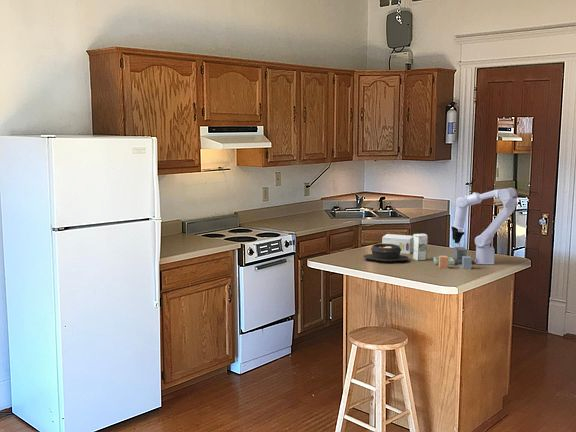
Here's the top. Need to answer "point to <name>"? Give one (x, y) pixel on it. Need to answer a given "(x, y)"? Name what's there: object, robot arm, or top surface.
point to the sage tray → (450, 261)
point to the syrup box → (420, 247)
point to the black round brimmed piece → (386, 253)
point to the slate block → (466, 262)
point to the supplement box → (400, 242)
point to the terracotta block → (443, 262)
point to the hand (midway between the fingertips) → (455, 241)
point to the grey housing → (459, 254)
